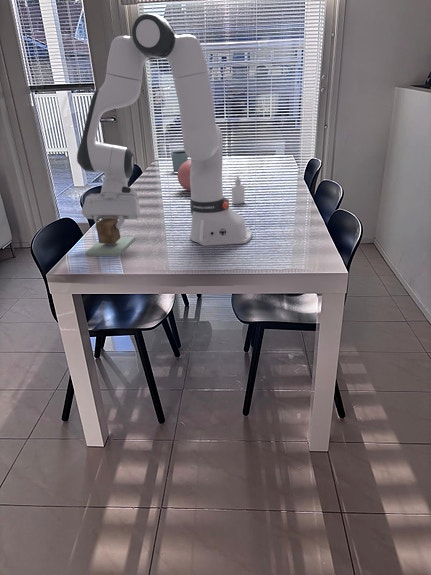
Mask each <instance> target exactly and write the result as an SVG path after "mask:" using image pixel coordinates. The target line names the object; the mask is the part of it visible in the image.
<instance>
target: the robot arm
mask: <svg viewBox="0 0 431 575" xmlns="http://www.w3.org/2000/svg"><path fill="white" fill-rule="evenodd" d="M133 22H134V23H133V25H132V29H131V35H130V36H129V35H119V36H116V37H114V38H113V40H112V41H111V44H110V48H109V52H108V57H107V63H106V71H105V79H104V82H103V84H102V85H101V87H100V88H98V89H95V90H94V91H93V92H94V93H93V94H92V97H91V101H90V104H89V108H88V111H87V116H86V120H85V125H84V126H83V132H82V136H81V140H80V143H79V146H78V148H77V152H76V161H77V164H78V165H79V166H80V168H82V169H83V170H84V171H85V172H98V173H104V179H103V181H102V185H101V189H100V193H89V194H88V195H87V196H85V197H84V198H85V199H84V203H83V205H82V209H81V215H82V216H83V217H84V218H85V219H87V220H93V221H94V223H95V226H94V228H95V230H96V231H97V228H96V223H98V222H99V221H100V220H101V219H118V223H115V226H114V229H115V230H119V231H120V229H121V226H122V225H123V224H124V223H125V220H137V219H138V218H139V217H140V214H141V213H140V212H141V210H140V209H141V208H140V207H141V205H140V203H139V202H140V196H139V194H138V193H137V191H136V190H135V189H134V188H133V187H130V186H128V182H129V181H130V178H131V177H132V175H133V173H134V172H133V171H134V166H135V159H136V158H135V155H134V153H133V152H132V151H131V149H130V148H129V147H126V146H123V145H116V144H110V143H106V142H100V141H97V139H96V138H97V135H98V131H99V125H100V123H101V119H102V116H103V114H104V113H106V112H108V111H111V110H116V109H122V108H125V107H129V106H131V105H133V104H134V103H135V102H136V101H137V100H138V99H139V97H140V94H141V90H142V89H141V88H142V83H143V74H144V73H143V72H144V67H145V64H146V62H147V61H150V60H158V59H166V60H167V62H168V64H169V65H170V69H171V75H172V78H173V82H174V88H175V93H176V96H177V97H176V98H177V102H178V106H179V107H178V109H179V118H180V126H181V135H182V140H183V142H182V144H183V151H185V152H186V154H187V155H188V158H190V160H191V168H190V187H191V191H190V194H191V195H190V200H189V202H190V203H189V206H190V212H191V214H190V215H191V229H190V233H189V239H190V241H193V242H195V243H198V244H200V245H201V246H204V247H205V246H207V247H208V246H221V245H222V246H223V245H225V246H226V245H242V244H247V243H248V242H250V241H251V239H252V237H253V233H252V230H251V229H250V228H248V227H247V228H246V222H245V219H244V218H243V216H242V215H240V214H239V213H238V212H236V211H234V210H233V209H231V207H230V201H229V197H227V198H226V197H225V196H224V195H223V194H224V191H223V188H224V187H223V147H224V146H223V132H222V130H221V127H220V126H219V125H218V124H217V123H216V116H215V107H214V97H213V96H214V95H213V90H212V86H211V80H210V74H209V73H210V72H209V69H208V65H207V64H208V63H207V60H206V58H205V53H204V49H203V48H202V45H201V42H200V40H199V39H198V38H197V37H196V36H194V35H192V34H186V33H185V34H181V35H180V34H176V32H175V29H174V27H173V26H172V25H171V24H170V23H169V21H168V20H166V19H165V18H164V17H162V16H161V15H159V14H157V13H154V12H145V13H143V14H141V15H139V16H138V17H137V18H136V19H135V21H133Z"/></svg>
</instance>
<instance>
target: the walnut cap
mask: <svg viewBox="0 0 431 575" xmlns="http://www.w3.org/2000/svg"><path fill="white" fill-rule="evenodd" d="M118 221H119V219H100V221H98V223H95V225H96V228H97V230H96V233H97V239H98V241H99V243H112V244H115V243H116V242H117V241H118V240H119V239H120V237H121V232H120V230H115V229H114V226H115V223H118Z"/></svg>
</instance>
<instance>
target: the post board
mask: <svg viewBox="0 0 431 575" xmlns="http://www.w3.org/2000/svg"><path fill="white" fill-rule="evenodd" d="M135 240H136V238H135V236H120V239H119V240H118V241H117V242H116V243H115V244H112V243H99V240H98V241H96V243H95V244H93V245H92V246H91V247H90V248H89V249H88V250H86V251H85V253H84V255H85V257H87V256H89V257H90V256H91V257H92V256H93V257H120V256H121V255H122V254H124V252H125V251H126V250H127V249H128V248H129V247H130V246H131V244H133V242H134V241H135Z"/></svg>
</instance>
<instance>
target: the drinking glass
mask: <svg viewBox="0 0 431 575" xmlns="http://www.w3.org/2000/svg"><path fill="white" fill-rule="evenodd" d="M170 155H171V161H172V170H173V173H174V172H178V170H179V168H180V166H181V165H182V164H183V163H184V162H186V161H188V159H189V156H188V155H187V154H186V152H185V150H175V151H171V153H170Z"/></svg>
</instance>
